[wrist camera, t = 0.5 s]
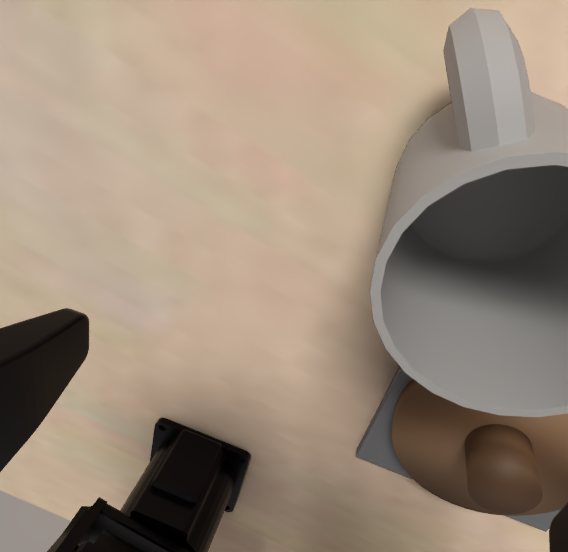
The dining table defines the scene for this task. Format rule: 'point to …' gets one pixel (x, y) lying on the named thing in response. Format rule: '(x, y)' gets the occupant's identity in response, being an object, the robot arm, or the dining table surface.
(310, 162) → the dining table surface
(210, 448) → the robot arm
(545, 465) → the lid
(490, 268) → the cup
